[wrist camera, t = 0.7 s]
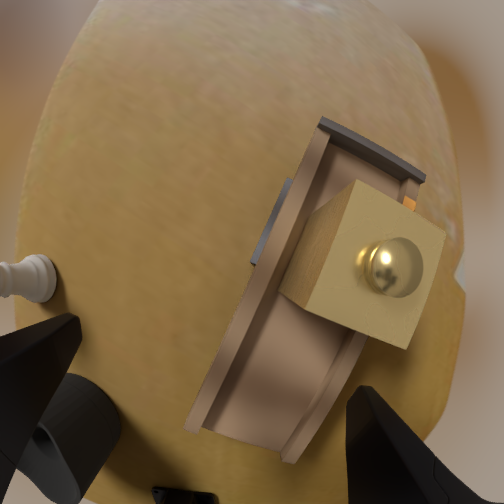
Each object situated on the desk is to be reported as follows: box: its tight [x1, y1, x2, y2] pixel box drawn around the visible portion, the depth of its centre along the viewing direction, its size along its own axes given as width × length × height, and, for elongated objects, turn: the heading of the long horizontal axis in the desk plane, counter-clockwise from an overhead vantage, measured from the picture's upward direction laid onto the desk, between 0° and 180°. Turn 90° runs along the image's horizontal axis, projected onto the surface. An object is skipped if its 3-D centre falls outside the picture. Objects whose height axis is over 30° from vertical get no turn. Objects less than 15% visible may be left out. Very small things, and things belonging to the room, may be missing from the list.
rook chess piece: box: [0, 254, 57, 303], centre depth 17 cm, size 4×4×8 cm
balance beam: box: [183, 116, 426, 464], centre depth 18 cm, size 22×9×6 cm, turn 156°
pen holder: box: [16, 373, 121, 504], centre depth 15 cm, size 9×9×10 cm
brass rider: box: [278, 179, 446, 350], centre depth 13 cm, size 5×5×9 cm
